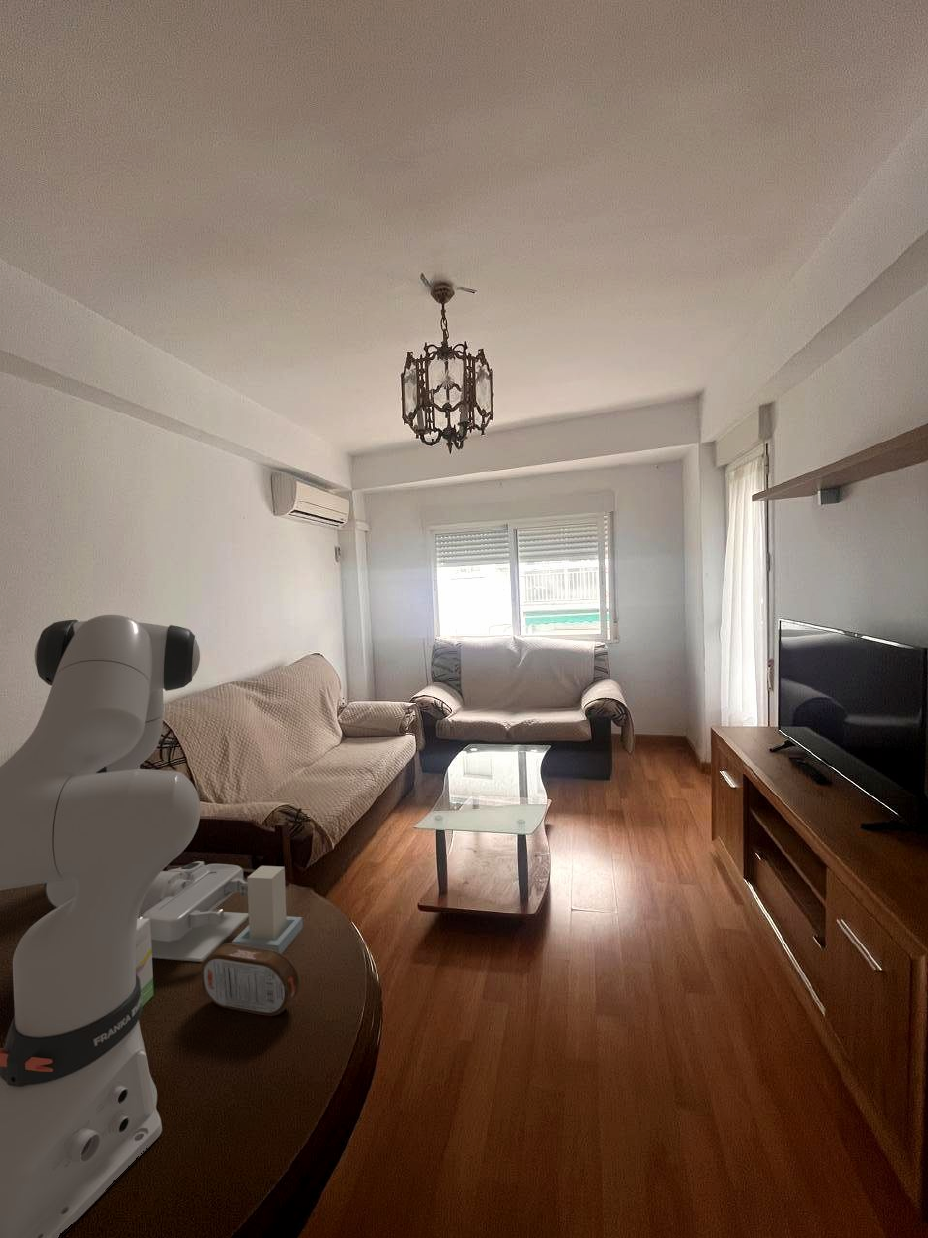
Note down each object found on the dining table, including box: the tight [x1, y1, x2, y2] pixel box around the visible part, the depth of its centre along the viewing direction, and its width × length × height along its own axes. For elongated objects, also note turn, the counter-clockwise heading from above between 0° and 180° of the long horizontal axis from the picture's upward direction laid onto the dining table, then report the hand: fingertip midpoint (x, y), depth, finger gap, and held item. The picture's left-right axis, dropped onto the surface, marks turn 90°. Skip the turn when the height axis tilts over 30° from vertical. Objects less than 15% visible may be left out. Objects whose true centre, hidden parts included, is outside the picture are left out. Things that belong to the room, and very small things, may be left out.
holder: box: [231, 915, 304, 954], centre depth 97 cm, size 8×8×2 cm
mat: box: [151, 911, 249, 963], centre depth 99 cm, size 14×14×1 cm
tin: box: [200, 942, 300, 1017], centre depth 80 cm, size 15×3×8 cm, turn 74°
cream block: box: [246, 865, 288, 941], centre depth 97 cm, size 4×4×12 cm
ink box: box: [136, 918, 154, 1008], centre depth 81 cm, size 9×5×15 cm, turn 84°
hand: (237, 902), depth 97 cm, fingers open, 8 cm apart
